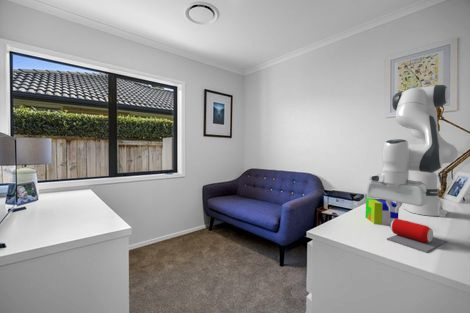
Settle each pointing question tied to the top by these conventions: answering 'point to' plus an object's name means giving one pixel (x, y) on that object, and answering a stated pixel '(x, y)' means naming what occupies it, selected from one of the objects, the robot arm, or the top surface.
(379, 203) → the puzzle toy
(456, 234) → the top surface
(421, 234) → the beverage can
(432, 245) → the mat
